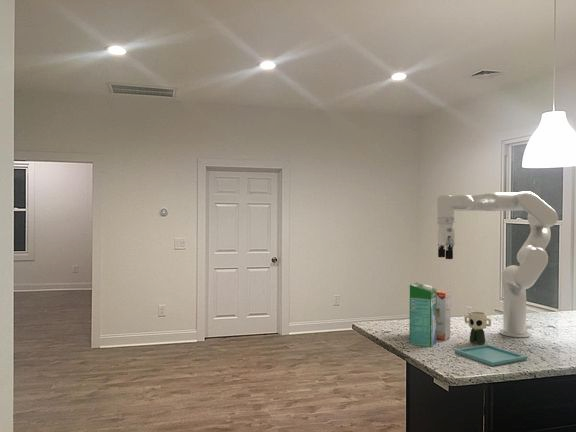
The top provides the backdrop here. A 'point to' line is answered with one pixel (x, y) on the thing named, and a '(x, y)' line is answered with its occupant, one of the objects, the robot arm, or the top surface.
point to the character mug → (477, 326)
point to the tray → (490, 355)
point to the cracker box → (443, 315)
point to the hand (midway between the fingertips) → (445, 258)
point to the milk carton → (423, 315)
